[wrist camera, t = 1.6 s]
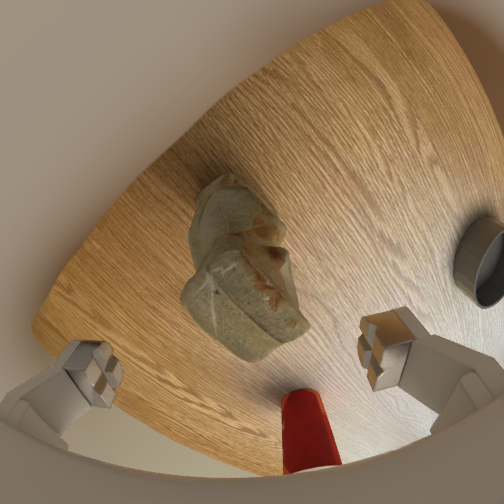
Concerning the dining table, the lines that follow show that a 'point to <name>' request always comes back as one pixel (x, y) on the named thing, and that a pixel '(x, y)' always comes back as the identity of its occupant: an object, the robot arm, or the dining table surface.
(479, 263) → the grey metal round dish
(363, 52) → the dining table surface
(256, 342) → the sculpture
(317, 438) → the paper cup
